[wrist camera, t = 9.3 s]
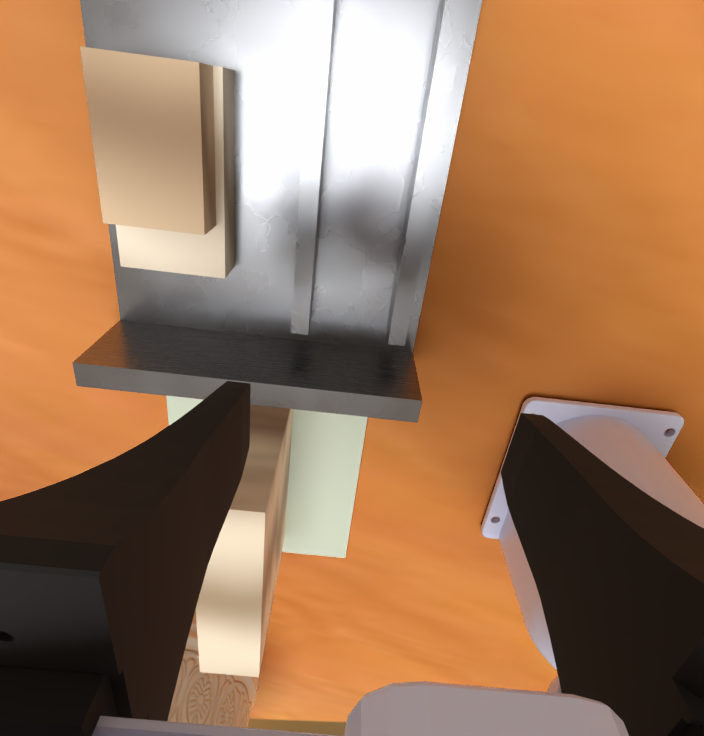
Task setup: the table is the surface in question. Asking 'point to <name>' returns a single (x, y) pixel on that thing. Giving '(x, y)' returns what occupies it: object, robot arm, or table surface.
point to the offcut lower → (216, 246)
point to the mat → (314, 477)
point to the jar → (210, 692)
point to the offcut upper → (152, 139)
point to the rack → (300, 201)
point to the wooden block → (247, 553)
